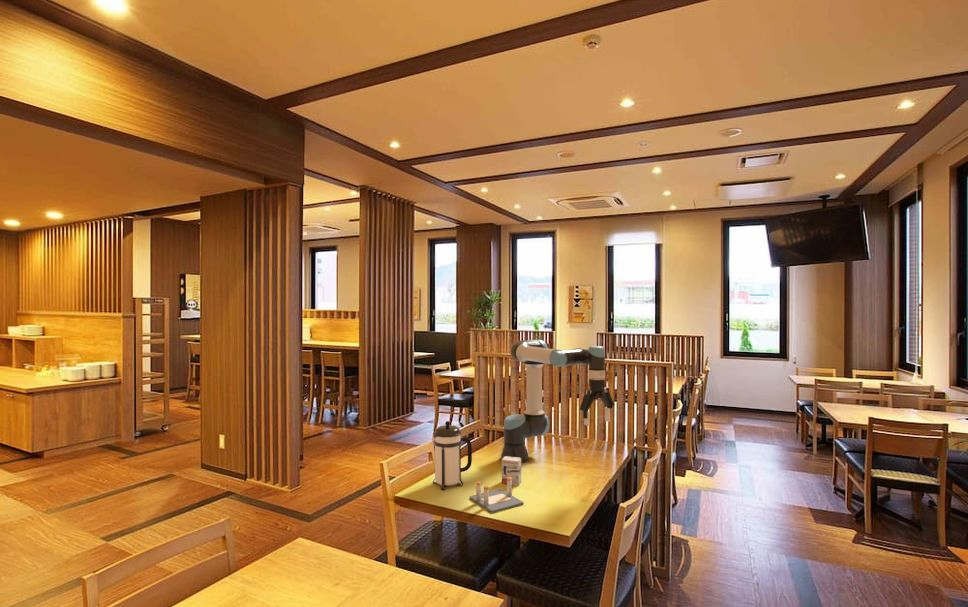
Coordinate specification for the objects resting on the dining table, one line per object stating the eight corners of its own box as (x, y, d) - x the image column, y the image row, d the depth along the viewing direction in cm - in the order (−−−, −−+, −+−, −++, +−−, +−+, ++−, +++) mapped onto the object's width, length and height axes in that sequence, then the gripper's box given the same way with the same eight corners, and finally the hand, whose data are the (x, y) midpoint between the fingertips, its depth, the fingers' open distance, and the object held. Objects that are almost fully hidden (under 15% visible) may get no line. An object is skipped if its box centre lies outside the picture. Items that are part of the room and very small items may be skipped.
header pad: (469, 498, 214) (469, 478, 214) (500, 490, 222) (499, 471, 222) (491, 513, 198) (491, 491, 198) (523, 504, 207) (523, 483, 207)
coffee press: (458, 492, 220) (457, 426, 220) (426, 488, 226) (426, 423, 226) (472, 479, 237) (472, 417, 237) (442, 475, 242) (442, 415, 242)
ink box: (501, 484, 231) (501, 459, 231) (504, 480, 235) (504, 455, 235) (519, 486, 228) (518, 460, 228) (521, 482, 233) (521, 457, 233)
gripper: (583, 382, 223) (583, 428, 223) (621, 377, 236) (621, 421, 236) (571, 379, 229) (572, 425, 229) (609, 375, 242) (610, 418, 242)
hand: (597, 423), depth 233 cm, fingers open, 13 cm apart
